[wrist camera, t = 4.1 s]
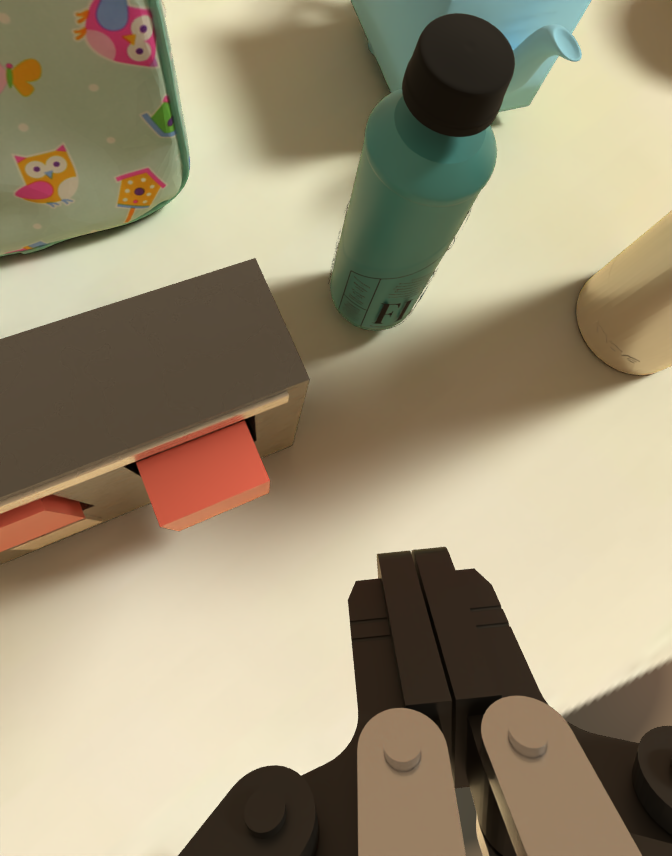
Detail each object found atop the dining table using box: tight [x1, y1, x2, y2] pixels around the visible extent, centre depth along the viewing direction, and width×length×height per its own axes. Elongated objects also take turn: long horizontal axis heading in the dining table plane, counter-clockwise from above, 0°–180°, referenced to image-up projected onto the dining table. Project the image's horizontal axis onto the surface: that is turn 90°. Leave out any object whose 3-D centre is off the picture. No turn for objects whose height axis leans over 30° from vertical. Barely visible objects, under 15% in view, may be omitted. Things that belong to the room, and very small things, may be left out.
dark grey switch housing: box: [0, 258, 310, 564], centre depth 27 cm, size 20×6×14 cm, turn 114°
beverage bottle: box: [328, 13, 515, 331], centre depth 29 cm, size 6×7×20 cm
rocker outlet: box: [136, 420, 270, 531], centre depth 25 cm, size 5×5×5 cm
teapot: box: [351, 0, 591, 112], centre depth 37 cm, size 22×11×14 cm, turn 20°
